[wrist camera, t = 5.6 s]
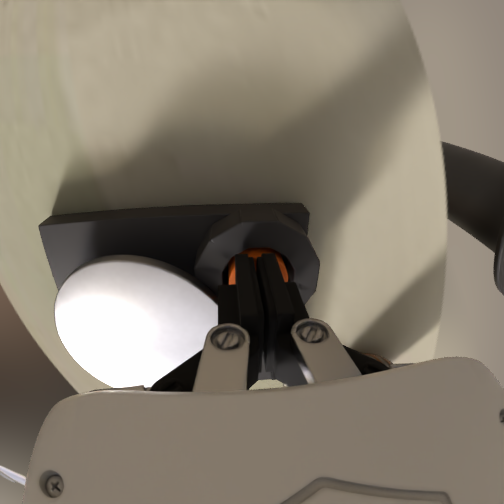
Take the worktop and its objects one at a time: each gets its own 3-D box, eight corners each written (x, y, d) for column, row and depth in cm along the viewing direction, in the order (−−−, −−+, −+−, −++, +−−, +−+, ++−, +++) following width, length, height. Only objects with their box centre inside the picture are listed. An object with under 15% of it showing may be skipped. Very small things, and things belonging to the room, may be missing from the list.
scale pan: (234, 250, 12) (235, 257, 11) (238, 392, 16) (239, 399, 16) (34, 256, 11) (28, 262, 10) (93, 385, 16) (91, 392, 15)
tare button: (284, 239, 13) (290, 255, 12) (280, 285, 14) (286, 304, 13) (227, 240, 13) (227, 257, 12) (228, 288, 14) (229, 307, 13)
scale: (307, 198, 14) (326, 220, 12) (288, 363, 20) (295, 395, 17) (49, 211, 13) (20, 234, 10) (102, 362, 19) (92, 392, 16)
